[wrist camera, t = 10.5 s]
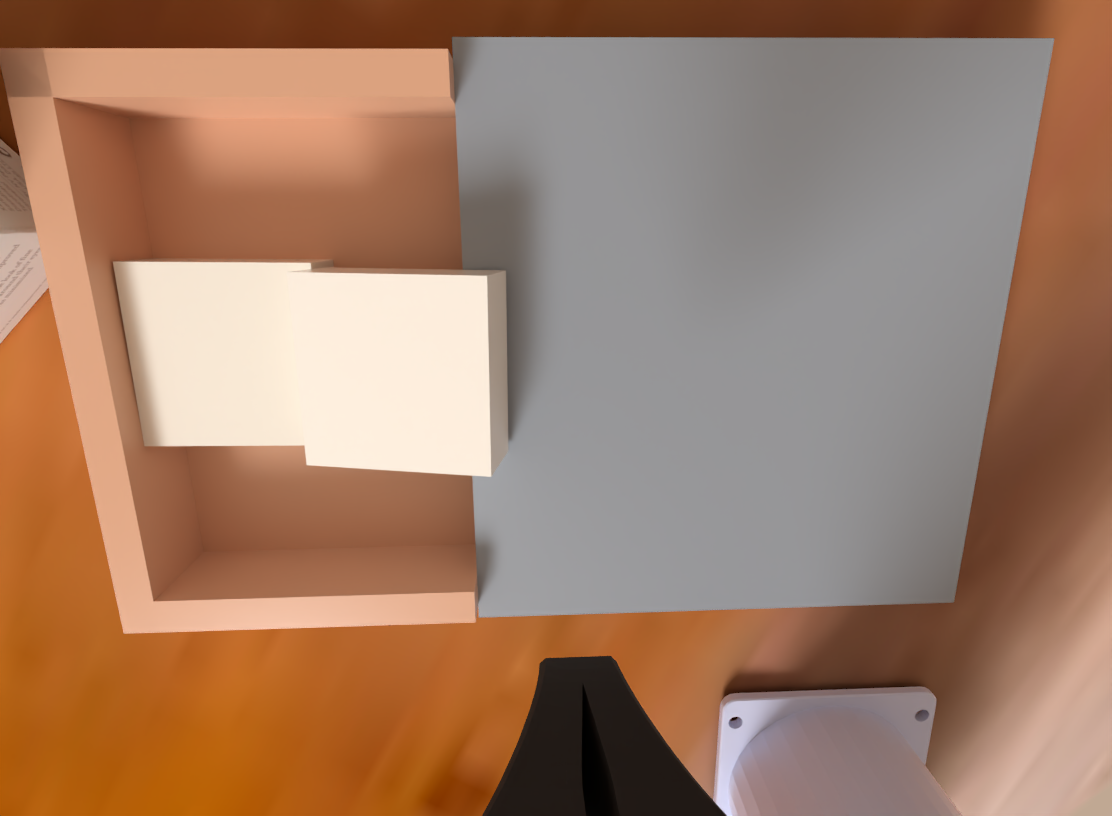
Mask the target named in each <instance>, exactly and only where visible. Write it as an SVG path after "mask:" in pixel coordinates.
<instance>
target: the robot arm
mask: <svg viewBox="0 0 1112 816" xmlns="http://www.w3.org/2000/svg"><path fill="white" fill-rule="evenodd" d="M935 709H936V697H935V696H934V694H933V693H932V692H931V691H930V690H929V689H928V688H926V687H921V686H918V687H891V688H863V689H836V690H808V691H781V692H754V693H733V694H729V695H727V696H725V697H724V698H723V700H722V701H721V704H720V715H719V729H718V743H717V757H716V771H715V785H714V800H712V799H711V798H710V797H709V795H708V794H707V793H706V792H705V791H704V790H703V789H702V787H701V786H700V785H699V784H698V783H697V781H696V780H695V779H694V778H693V777H692V775H691V774H690V773H689V772H688V770H687V769H686V768H685V767H684V765H683V764H682V763H681V762H680V760H679V759H678V758H677V757H676V755H675V754H674V753H673V751H672V750H671V748H670V747H669V746H668V744H667V743H666V742H665V740H664V739H663V737H662V736H661V735H660V733H659V732H658V730H657V729H656V727H655V726H654V725H653V723H652V722H651V720H650V719H649V717H648V716H647V714H646V713H645V711H644V710H643V708H642V707H641V705H640V703H639V702H638V700H637V699H636V697H635V695H634V694H633V692H632V690H631V689H630V687H629V685H628V683H627V682H626V680H625V678H624V676H623V674H622V672H621V670H620V668H619V666H618V664H617V662H616V661H615V660H614V659H613V658H612V657H611V656H598V657H569V658H545V659H544V660H543V661H542V662H541V663H540V666H539V676H538V682H537V687H536V691H535V694H534V698H533V701H532V704H531V708H530V711H529V714H528V716H527V719H526V722H525V725H524V727H523V730H522V733H521V736H520V738H519V741H518V743H517V746H516V748H515V750H514V752H513V755H512V757H511V759H510V761H509V763H508V766H507V768H506V770H505V772H504V774H503V777H502V779H501V781H500V783H499V785H498V787H497V789H496V791H495V793H494V795H493V797H492V799H491V800H490V802H489V804H488V806H487V808H486V810H485V811H484V813H483V815H482V816H962V815H961V813H960V812H959V810H958V809H957V808H956V806H955V805H954V804H953V802H952V801H951V800H950V798H949V797H948V796H947V794H946V793H945V792H944V790H943V789H942V788H941V786H940V785H939V783H938V782H937V781H936V779H935V778H934V777H933V775H932V774H931V773H930V771H929V770H928V769H927V767H926V766H925V765H926V759H927V753H928V748H929V742H930V737H931V731H932V725H933V720H934V714H935ZM920 710H922V711H920ZM918 711H920V712H919V713H917V712H918ZM916 713H917V714H916ZM733 717H738V718H737V719H736V720H734V721H729V720H730V719H731V718H733Z"/></svg>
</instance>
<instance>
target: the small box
mask: <svg viewBox="0 0 1112 816" xmlns="http://www.w3.org/2000/svg"><path fill="white" fill-rule="evenodd" d="M47 289H48V282H47V277H46V273H45V268H44V264H43V259H42V254H41V250H40V245H39V241H38V236H37V231H36V227H35V222H34V218H33V213H32V208H31V204H30V199H29V195H28V190H27V185H26V181H25V176H24V172H23V167H22V162H21V158H20V156H19V155H18V154H17V153H15V152H14V151H13V150H12V149H11V148H10V147H9V146H8V145H7V144H5V143H4V142H3V141H2V140H1V139H0V343H1V342H2V341H3V340H4V339H5V337H6V336H7V335H8V334H9V333H10V332H11V330H12V329H13V328H14V327H15V326H16V325H17V324H18V322H19V321H20V320H21V319H22V318H23V317H24V315H25V314H26V313H27V312H28V311H29V310H30V308H31V307H32V306H33V305H34V304H35V303H36V301H37V300H38V299H39V298H40V297H41V296H42V294H43V293H44V292H45V291H46V290H47Z"/></svg>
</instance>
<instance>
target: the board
mask: <svg viewBox="0 0 1112 816" xmlns="http://www.w3.org/2000/svg"><path fill="white" fill-rule="evenodd" d="M1053 43H1054V38H702V37H452V50H453V71H454V93H455V114H456V136H457V157H458V179H459V200H460V221H461V243H462V264H463V270H506V307H507V385H508V452H507V454H506V455H505V457H504V458H503V460H502V461H501V463H500V464H499V466H498V467H497V469H496V470H495V472H494V473H493V475H492V476H491V477H486V476H472V479H473V500H474V522H475V543H476V565H477V586H478V608H479V617H508V616H540V615H572V614H603V613H635V612H667V611H699V610H730V609H762V608H794V607H825V606H857V605H889V604H920V603H952V602H954V599H955V594H956V588H957V582H958V577H959V571H960V566H961V560H962V554H963V549H964V543H965V537H966V532H967V526H968V521H969V515H970V509H971V504H972V498H973V493H974V487H975V481H976V476H977V470H978V464H979V459H980V453H981V448H982V442H983V436H984V431H985V425H986V420H987V414H988V408H989V403H990V397H991V391H992V386H993V380H994V375H995V369H996V363H997V358H998V352H999V347H1000V341H1001V335H1002V330H1003V324H1004V318H1005V313H1006V307H1007V302H1008V296H1009V290H1010V285H1011V279H1012V274H1013V268H1014V262H1015V257H1016V251H1017V245H1018V240H1019V234H1020V229H1021V223H1022V217H1023V212H1024V206H1025V201H1026V195H1027V189H1028V184H1029V178H1030V172H1031V167H1032V161H1033V156H1034V150H1035V144H1036V139H1037V133H1038V128H1039V122H1040V116H1041V111H1042V105H1043V99H1044V94H1045V88H1046V83H1047V77H1048V71H1049V66H1050V60H1051V55H1052V49H1053Z"/></svg>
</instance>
